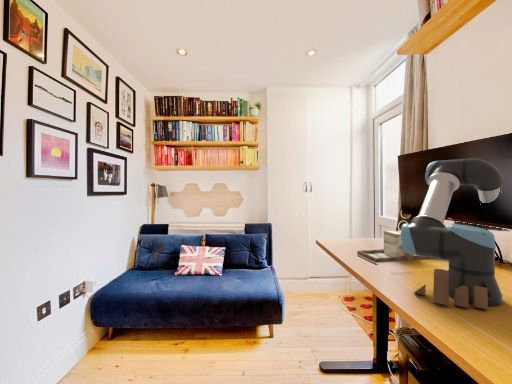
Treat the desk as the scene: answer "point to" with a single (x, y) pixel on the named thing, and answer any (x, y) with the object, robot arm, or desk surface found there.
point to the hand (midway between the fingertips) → (409, 241)
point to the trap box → (384, 256)
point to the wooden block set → (455, 292)
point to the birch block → (394, 244)
